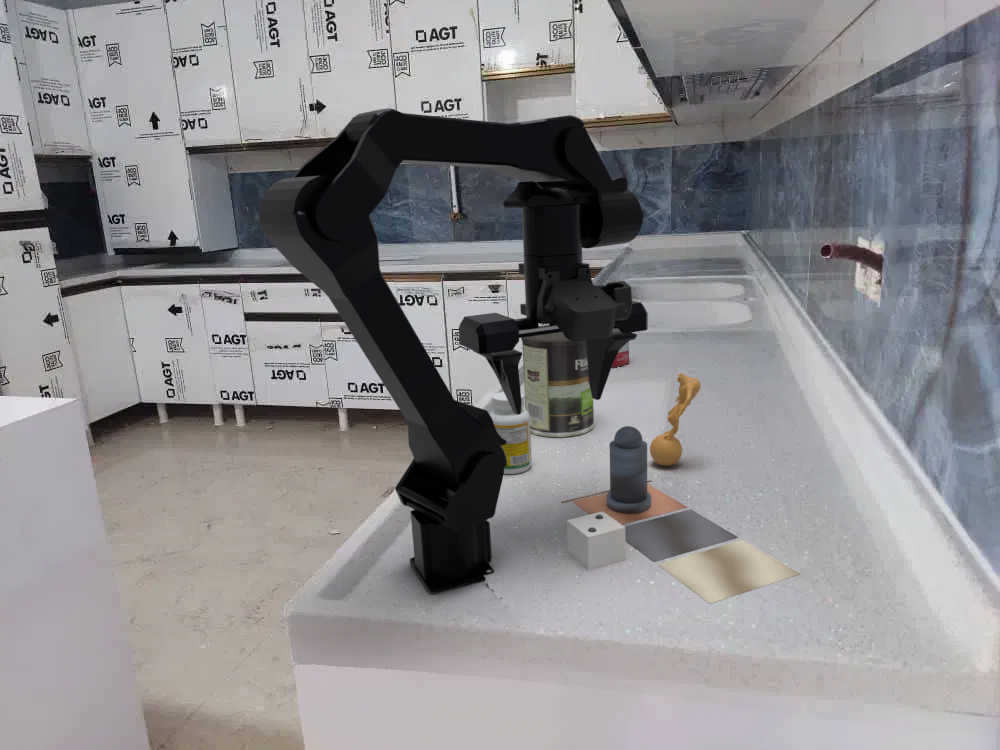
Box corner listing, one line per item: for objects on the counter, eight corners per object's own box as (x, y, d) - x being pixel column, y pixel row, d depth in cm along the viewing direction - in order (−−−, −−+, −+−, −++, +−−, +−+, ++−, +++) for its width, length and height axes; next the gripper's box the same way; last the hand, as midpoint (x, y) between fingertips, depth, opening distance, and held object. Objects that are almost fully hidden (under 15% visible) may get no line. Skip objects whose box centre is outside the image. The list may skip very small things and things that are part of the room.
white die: (589, 576, 69) (588, 534, 68) (568, 557, 73) (566, 517, 71) (625, 565, 70) (625, 524, 69) (603, 548, 74) (602, 509, 73)
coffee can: (603, 418, 113) (602, 327, 109) (581, 441, 104) (579, 342, 100) (540, 413, 117) (537, 325, 114) (513, 434, 108) (509, 339, 105)
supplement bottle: (523, 477, 92) (520, 403, 90) (483, 472, 94) (479, 400, 92) (537, 461, 97) (535, 391, 95) (499, 457, 99) (496, 388, 97)
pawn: (622, 517, 79) (621, 437, 76) (598, 501, 83) (597, 424, 81) (659, 507, 81) (660, 429, 78) (634, 492, 85) (634, 417, 83)
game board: (706, 617, 62) (706, 611, 61) (561, 505, 84) (561, 500, 84) (815, 581, 66) (815, 575, 66) (650, 484, 88) (650, 479, 88)
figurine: (651, 452, 98) (652, 364, 95) (698, 454, 97) (700, 365, 94) (647, 476, 91) (647, 381, 88) (698, 479, 89) (700, 382, 86)
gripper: (498, 269, 62) (507, 446, 66) (682, 250, 69) (680, 411, 73) (452, 259, 72) (462, 413, 76) (617, 244, 79) (618, 385, 83)
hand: (557, 406), depth 77 cm, fingers open, 9 cm apart
